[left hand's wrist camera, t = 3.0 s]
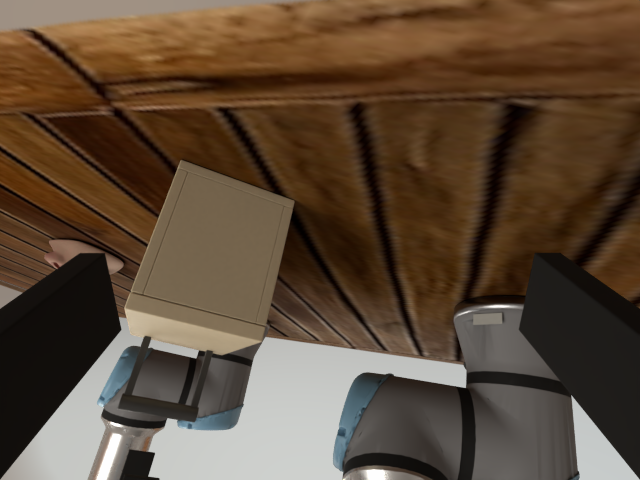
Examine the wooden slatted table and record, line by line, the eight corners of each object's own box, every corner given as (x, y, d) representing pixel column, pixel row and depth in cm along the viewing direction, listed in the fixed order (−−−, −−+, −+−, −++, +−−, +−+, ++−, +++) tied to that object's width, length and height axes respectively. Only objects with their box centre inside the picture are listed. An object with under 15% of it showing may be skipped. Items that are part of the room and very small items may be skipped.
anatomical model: (46, 259, 54) (129, 286, 61) (59, 232, 56) (138, 262, 62) (27, 270, 63) (101, 293, 70) (39, 247, 65) (110, 272, 72)
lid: (225, 344, 46) (204, 422, 43) (134, 323, 43) (104, 405, 40) (265, 326, 31) (238, 445, 28) (130, 291, 28) (81, 420, 25)
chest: (250, 253, 50) (226, 343, 46) (169, 228, 47) (134, 322, 43) (295, 200, 36) (266, 325, 31) (181, 159, 33) (130, 291, 28)
